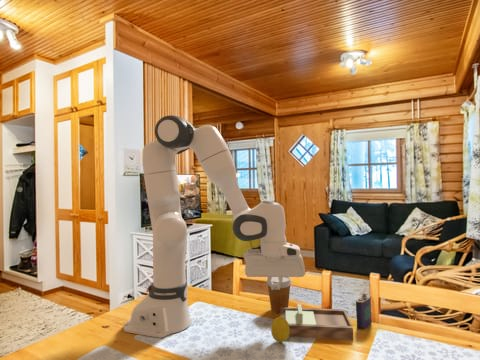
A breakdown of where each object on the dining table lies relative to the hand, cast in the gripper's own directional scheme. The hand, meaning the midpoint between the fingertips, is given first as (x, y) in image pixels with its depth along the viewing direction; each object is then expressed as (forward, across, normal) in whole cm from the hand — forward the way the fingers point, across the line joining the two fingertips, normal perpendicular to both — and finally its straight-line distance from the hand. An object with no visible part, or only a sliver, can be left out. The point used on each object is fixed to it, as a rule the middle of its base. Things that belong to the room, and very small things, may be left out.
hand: (275, 289), depth 103 cm
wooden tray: (+13, +12, 0) cm, 17 cm away
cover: (+10, +8, 0) cm, 13 cm away
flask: (+13, +29, +3) cm, 32 cm away
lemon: (+12, +1, -11) cm, 17 cm away
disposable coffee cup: (+13, +1, +12) cm, 18 cm away
